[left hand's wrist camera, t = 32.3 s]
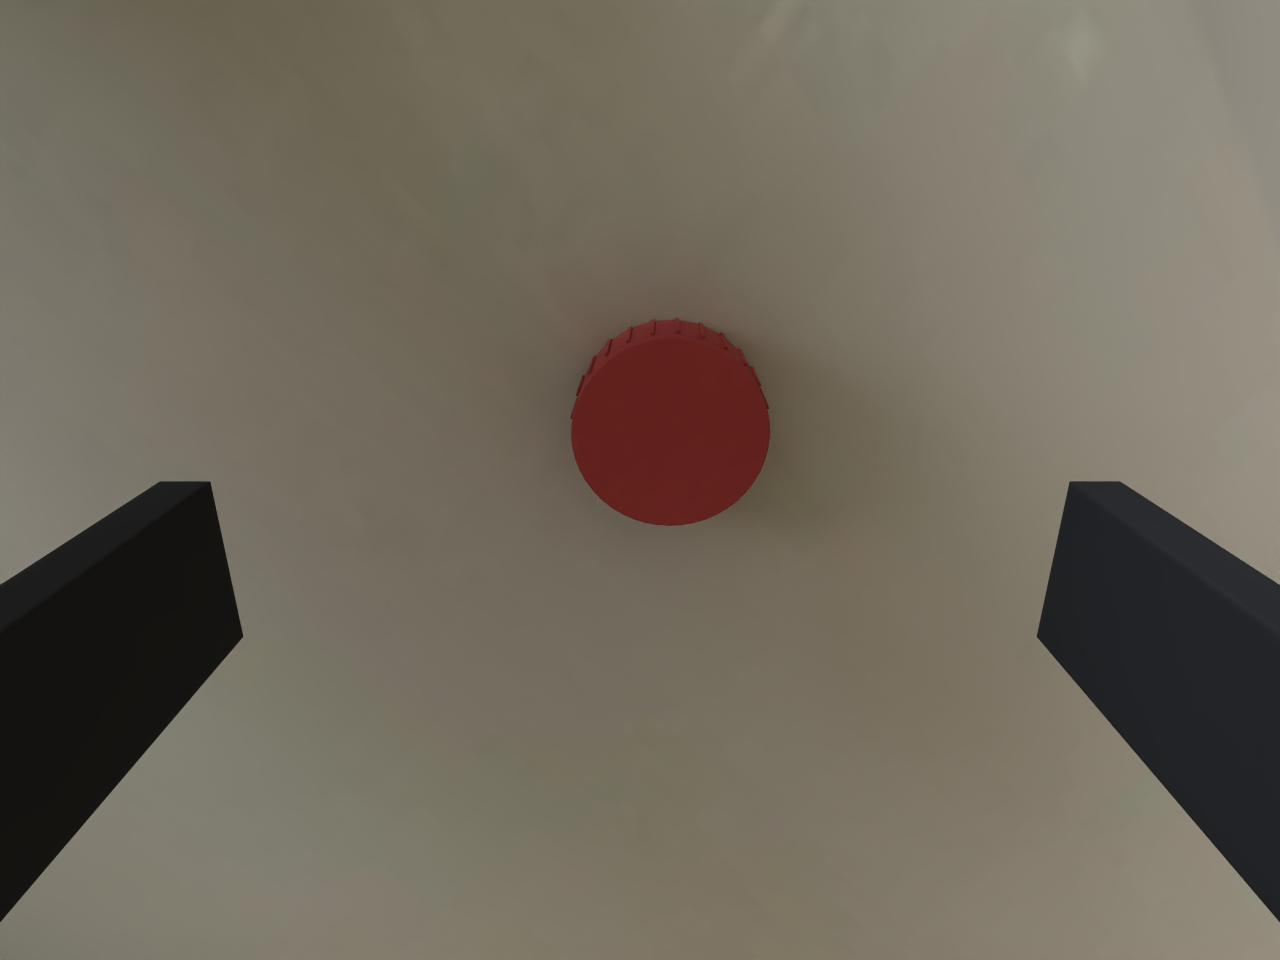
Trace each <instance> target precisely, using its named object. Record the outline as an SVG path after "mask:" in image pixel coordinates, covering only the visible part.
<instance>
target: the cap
mask: <svg viewBox="0 0 1280 960" xmlns="http://www.w3.org/2000/svg"><path fill="white" fill-rule="evenodd" d="M760 386H761V384H760V382H759V379H758V377H757V375H756V373H755V370H754V368H753V367H751V368H750V366H749V365H748V363H747V361H746V360H745V357H744V355H743V353H742V350H741V349H740V348H738V349H737V348H736V347H735V346H733V345H732V344H731V343H730V342H729V341H728V340H727V339H725V336H724V334H723V333H720V335H719V334H718V333H716V332H714V331H712V330H710V329H708V328H706V327H703V324H702V323H700V322H699V324H695V323H690V322H685V321H679V318H675V320H666V321H655V319H653V320H651V322H650V323H646V324H643V325H640V326H637V327H634V328H632V327H631V326H630V327H628V331H626V332H624V333H622V334H621V335H619V336H618V337H616V338H615V339H613V340H612V339H609V340H608V343H607V345H606V346H605V347H604V348H603V349H602V351H601V352H600V353H599V354H598V355H597V356H595V355H594V356H593V358H592V361H591V363H590V366H589V369H588V372H587V374H586V376H582V379H581V382H580V385H579V388H578V390H577V393H576V396H578V397H577V400H576V402H575V405H574V408H573V411H572V414H571V419H572V427H571V438H572V439H571V440H572V447H573V451H574V455H575V459H576V462H577V464H578V467H579V469H580V472H581V473H582V475H583V477H584V479H585V481H586V482H587V483H588V485H589V486H590V487H591V489H592V490H593V491H594V492H595V493H596V494H597V495H598V496H599V497H600V498H601V500H603V501H604V502H605V503H606V504H608V505H609V506H610V507H612V508H613V509H615V510H616V511H618V512H620V513H621V514H623V515H626V516H628V517H630V518H632V519H635V520H638V521H641V522H645V523H650V524H655V525H667V526H671V525H684V524H690V523H695V522H698V521H702V520H705V519H707V518H710V517H712V516H714V515H717V514H718V513H720V512H722V511H724V510H725V509H727V508H728V507H730V506H731V505H732V504H734V503H735V502H736V501H737V500H738V499H740V498H741V497H742V496H743V495H744V494H745V493H746V491H747V490H748V489H749V488H750V486H751V485H752V484H753V483H754V481H755V479H756V478H757V476H758V474H759V473H760V471H761V468H762V466H763V463H764V461H765V458H766V454H767V451H768V445H769V438H770V423H769V417H768V411H767V409H769V407H768V404H767V402H766V399H765V397H764V395H763V393H762V390H761V388H759V387H760Z"/></svg>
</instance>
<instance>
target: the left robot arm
mask: <svg viewBox="0 0 1280 960" xmlns="http://www.w3.org/2000/svg"><path fill="white" fill-rule="evenodd" d="M242 638H243V633H242V629H241V624H240V619H239V614H238V610H237V605H236V600H235V596H234V591H233V586H232V581H231V577H230V572H229V567H228V563H227V558H226V553H225V549H224V544H223V539H222V534H221V530H220V525H219V520H218V516H217V511H216V506H215V502H214V497H213V492H212V487H211V483H210V482H159V483H157V484H155V485H154V486H152V487H151V488H149V489H148V490H146V491H145V492H143V493H142V494H140V495H138V496H137V497H135V498H134V499H132V500H131V501H129V502H128V503H126V504H125V505H123V506H122V507H120V508H118V509H117V510H115V511H114V512H112V513H111V514H109V515H108V516H106V517H105V518H103V519H101V520H100V521H98V522H97V523H95V524H94V525H92V526H91V527H89V528H88V529H86V530H84V531H83V532H81V533H80V534H78V535H77V536H75V537H74V538H72V539H71V540H69V541H67V542H66V543H64V544H63V545H61V546H60V547H58V548H57V549H55V550H54V551H52V552H51V553H49V554H47V555H46V556H44V557H43V558H41V559H40V560H38V561H37V562H35V563H34V564H32V565H30V566H29V567H27V568H26V569H24V570H23V571H21V572H20V573H18V574H17V575H15V576H13V577H12V578H10V579H9V580H7V581H6V582H4V583H3V584H1V585H0V922H1V921H2V919H3V918H4V917H5V916H6V915H7V914H8V912H9V911H10V910H11V909H12V908H13V907H14V905H15V904H16V903H17V902H18V901H19V899H20V898H21V897H22V896H23V895H24V894H25V892H26V891H27V890H28V889H29V888H30V887H31V885H32V884H33V883H34V882H35V881H36V879H37V878H38V877H39V876H40V875H41V874H42V872H43V871H44V870H45V869H46V868H47V867H48V865H49V864H50V863H51V862H52V861H53V860H54V858H55V857H56V856H57V855H58V854H59V852H60V851H61V850H62V849H63V848H64V847H65V845H66V844H67V843H68V842H69V841H70V840H71V838H72V837H73V836H74V835H75V834H76V833H77V831H78V830H79V829H80V828H81V827H82V825H83V824H84V823H85V822H86V821H87V820H88V818H89V817H90V816H91V815H92V814H93V813H94V811H95V810H96V809H97V808H98V807H99V805H100V804H101V803H102V802H103V801H104V800H105V798H106V797H107V796H108V795H109V794H110V793H111V791H112V790H113V789H114V788H115V787H116V786H117V784H118V783H119V782H120V781H121V780H122V778H123V777H124V776H125V775H126V774H127V773H128V771H129V770H130V769H131V768H132V767H133V766H134V764H135V763H136V762H137V761H138V760H139V759H140V757H141V756H142V755H143V754H144V753H145V751H146V750H147V749H148V748H149V747H150V746H151V744H152V743H153V742H154V741H155V740H156V739H157V737H158V736H159V735H160V734H161V733H162V731H163V730H164V729H165V728H166V727H167V726H168V724H169V723H170V722H171V721H172V720H173V719H174V717H175V716H176V715H177V714H178V713H179V712H180V710H181V709H182V708H183V707H184V706H185V704H186V703H187V702H188V701H189V700H190V699H191V697H192V696H193V695H194V694H195V693H196V692H197V690H198V689H199V688H200V687H201V686H202V684H203V683H204V682H205V681H206V680H207V679H208V677H209V676H210V675H211V674H212V673H213V672H214V670H215V669H216V668H217V667H218V666H219V665H220V663H221V662H222V661H223V660H224V659H225V657H226V656H227V655H228V654H229V653H230V652H231V650H232V649H233V648H234V647H235V646H236V645H237V643H238V642H239V641H240V640H241V639H242ZM1037 638H1038V639H1039V640H1040V641H1041V642H1042V643H1043V645H1044V646H1045V647H1046V648H1047V649H1048V650H1049V652H1050V653H1051V654H1052V655H1053V656H1054V657H1055V659H1056V660H1057V661H1058V662H1059V663H1060V665H1061V666H1062V667H1063V668H1064V669H1065V670H1066V672H1067V673H1068V674H1069V675H1070V676H1071V677H1072V679H1073V680H1074V681H1075V682H1076V683H1077V684H1078V686H1079V687H1080V688H1081V689H1082V690H1083V692H1084V693H1085V694H1086V695H1087V696H1088V697H1089V699H1090V700H1091V701H1092V702H1093V703H1094V704H1095V706H1096V707H1097V708H1098V709H1099V710H1100V712H1101V713H1102V714H1103V715H1104V716H1105V717H1106V719H1107V720H1108V721H1109V722H1110V723H1111V724H1112V726H1113V727H1114V728H1115V729H1116V730H1117V731H1118V733H1119V734H1120V735H1121V736H1122V737H1123V739H1124V740H1125V741H1126V742H1127V743H1128V744H1129V746H1130V747H1131V748H1132V749H1133V750H1134V751H1135V753H1136V754H1137V755H1138V756H1139V757H1140V759H1141V760H1142V761H1143V762H1144V763H1145V764H1146V766H1147V767H1148V768H1149V769H1150V770H1151V771H1152V773H1153V774H1154V775H1155V776H1156V777H1157V778H1158V780H1159V781H1160V782H1161V783H1162V784H1163V786H1164V787H1165V788H1166V789H1167V790H1168V791H1169V793H1170V794H1171V795H1172V796H1173V797H1174V798H1175V800H1176V801H1177V802H1178V803H1179V804H1180V805H1181V807H1182V808H1183V809H1184V810H1185V811H1186V813H1187V814H1188V815H1189V816H1190V817H1191V818H1192V820H1193V821H1194V822H1195V823H1196V824H1197V825H1198V827H1199V828H1200V829H1201V830H1202V831H1203V833H1204V834H1205V835H1206V836H1207V837H1208V838H1209V840H1210V841H1211V842H1212V843H1213V844H1214V845H1215V847H1216V848H1217V849H1218V850H1219V851H1220V852H1221V854H1222V855H1223V856H1224V857H1225V858H1226V860H1227V861H1228V862H1229V863H1230V864H1231V865H1232V867H1233V868H1234V869H1235V870H1236V871H1237V872H1238V874H1239V875H1240V876H1241V877H1242V878H1243V880H1244V881H1245V882H1246V883H1247V884H1248V885H1249V887H1250V888H1251V889H1252V890H1253V891H1254V892H1255V894H1256V895H1257V896H1258V897H1259V898H1260V899H1261V901H1262V902H1263V903H1264V904H1265V905H1266V907H1267V908H1268V909H1269V910H1270V911H1271V912H1272V914H1273V915H1274V916H1275V917H1276V918H1277V919H1278V921H1279V922H1280V585H1279V584H1277V583H1276V582H1274V581H1273V580H1271V579H1270V578H1268V577H1267V576H1265V575H1263V574H1262V573H1260V572H1259V571H1257V570H1256V569H1254V568H1253V567H1251V566H1250V565H1248V564H1246V563H1245V562H1243V561H1242V560H1240V559H1239V558H1237V557H1236V556H1234V555H1233V554H1231V553H1229V552H1228V551H1226V550H1225V549H1223V548H1222V547H1220V546H1219V545H1217V544H1216V543H1214V542H1213V541H1211V540H1209V539H1208V538H1206V537H1205V536H1203V535H1202V534H1200V533H1199V532H1197V531H1196V530H1194V529H1192V528H1191V527H1189V526H1188V525H1186V524H1185V523H1183V522H1182V521H1180V520H1179V519H1177V518H1175V517H1174V516H1172V515H1171V514H1169V513H1168V512H1166V511H1165V510H1163V509H1162V508H1160V507H1158V506H1157V505H1155V504H1154V503H1152V502H1151V501H1149V500H1148V499H1146V498H1145V497H1143V496H1142V495H1140V494H1138V493H1137V492H1135V491H1134V490H1132V489H1131V488H1129V487H1128V486H1126V485H1125V484H1123V483H1121V482H1070V483H1069V487H1068V492H1067V497H1066V502H1065V506H1064V511H1063V516H1062V520H1061V525H1060V530H1059V534H1058V539H1057V544H1056V549H1055V553H1054V558H1053V563H1052V567H1051V572H1050V577H1049V581H1048V586H1047V591H1046V596H1045V600H1044V605H1043V610H1042V614H1041V619H1040V624H1039V628H1038V633H1037Z"/></svg>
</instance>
